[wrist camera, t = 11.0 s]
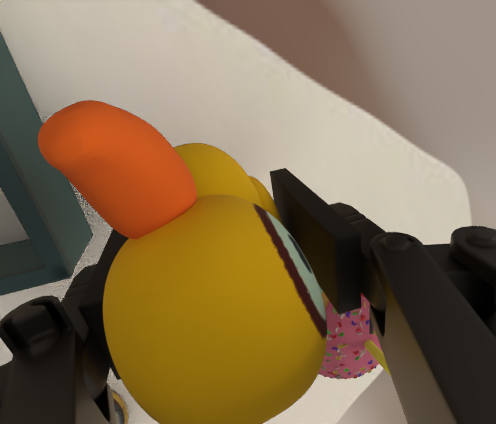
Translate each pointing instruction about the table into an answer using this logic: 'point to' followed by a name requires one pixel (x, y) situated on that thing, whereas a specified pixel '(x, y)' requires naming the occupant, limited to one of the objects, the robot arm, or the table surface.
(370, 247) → the robot arm
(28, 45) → the table surface
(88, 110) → the duckling
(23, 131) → the rectangular frame
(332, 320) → the cupcake
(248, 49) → the table surface
